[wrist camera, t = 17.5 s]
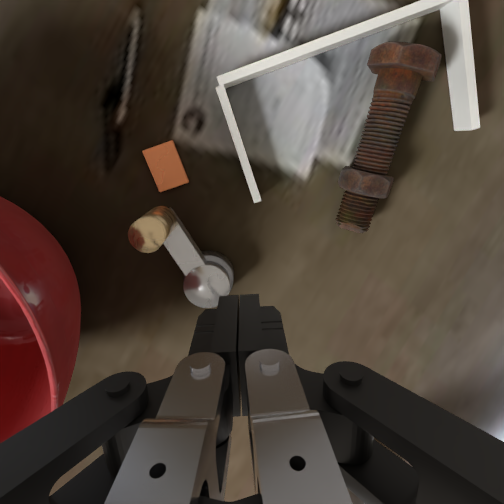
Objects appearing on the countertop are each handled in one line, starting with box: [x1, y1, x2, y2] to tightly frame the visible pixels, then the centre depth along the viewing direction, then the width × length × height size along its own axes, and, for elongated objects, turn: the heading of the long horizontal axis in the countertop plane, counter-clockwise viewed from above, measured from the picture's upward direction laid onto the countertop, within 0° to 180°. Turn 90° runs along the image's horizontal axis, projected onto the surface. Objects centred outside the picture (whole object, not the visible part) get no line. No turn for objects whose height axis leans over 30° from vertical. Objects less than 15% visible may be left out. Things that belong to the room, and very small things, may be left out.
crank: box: [128, 206, 230, 308], centre depth 29 cm, size 11×4×6 cm, turn 29°
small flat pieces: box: [142, 140, 234, 292], centre depth 32 cm, size 16×5×2 cm, turn 19°
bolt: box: [336, 42, 442, 233], centre depth 29 cm, size 6×5×15 cm
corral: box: [215, 0, 480, 203], centre depth 28 cm, size 11×20×2 cm, turn 108°
